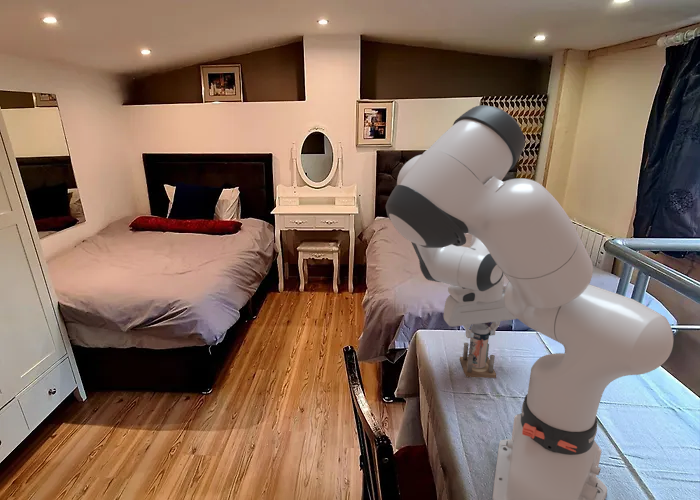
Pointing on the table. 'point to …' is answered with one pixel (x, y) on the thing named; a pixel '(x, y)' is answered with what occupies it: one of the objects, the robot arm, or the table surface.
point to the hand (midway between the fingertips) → (480, 335)
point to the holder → (477, 372)
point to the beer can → (479, 344)
